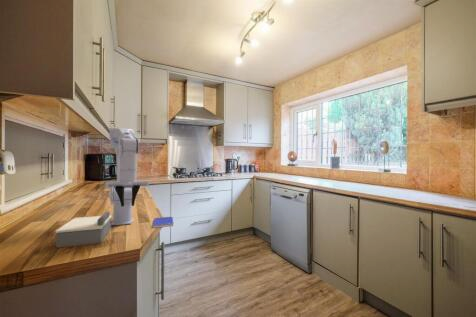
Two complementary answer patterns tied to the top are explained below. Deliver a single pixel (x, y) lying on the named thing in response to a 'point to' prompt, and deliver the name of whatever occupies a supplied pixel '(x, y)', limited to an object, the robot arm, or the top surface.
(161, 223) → the hard drive
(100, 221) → the mailer lid
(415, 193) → the top surface
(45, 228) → the top surface
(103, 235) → the box
